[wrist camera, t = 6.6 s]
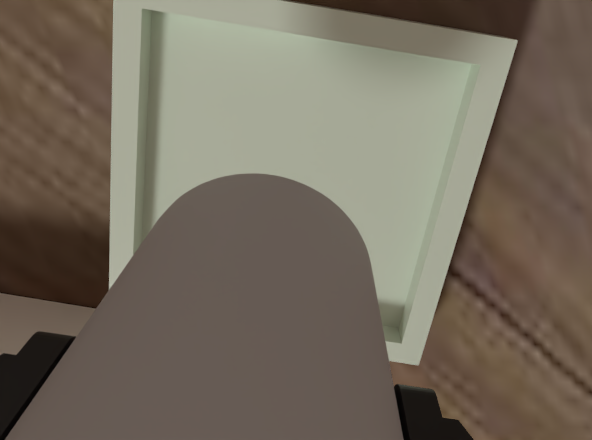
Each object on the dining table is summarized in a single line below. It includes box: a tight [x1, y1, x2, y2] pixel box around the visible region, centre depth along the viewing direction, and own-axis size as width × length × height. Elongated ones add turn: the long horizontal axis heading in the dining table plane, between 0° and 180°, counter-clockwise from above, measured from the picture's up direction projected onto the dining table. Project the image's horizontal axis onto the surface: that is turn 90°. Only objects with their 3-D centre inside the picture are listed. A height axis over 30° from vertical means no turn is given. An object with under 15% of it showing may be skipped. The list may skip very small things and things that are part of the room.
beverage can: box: [5, 173, 404, 440], centre depth 10 cm, size 6×6×12 cm
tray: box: [109, 0, 518, 365], centre depth 22 cm, size 14×14×2 cm
